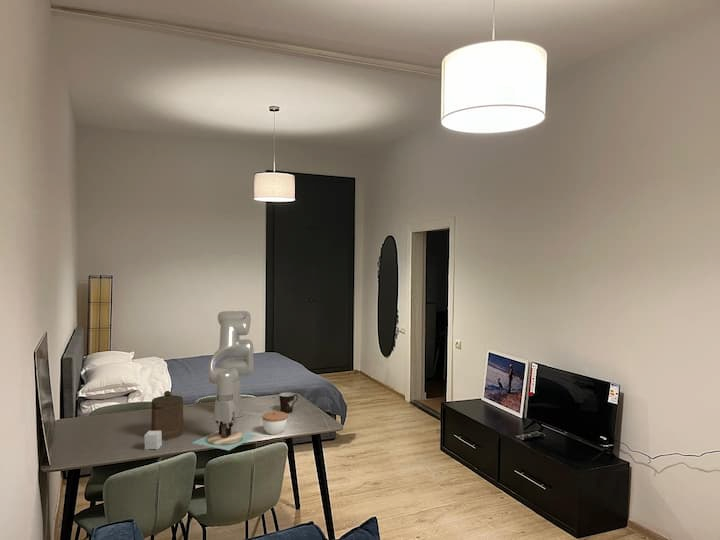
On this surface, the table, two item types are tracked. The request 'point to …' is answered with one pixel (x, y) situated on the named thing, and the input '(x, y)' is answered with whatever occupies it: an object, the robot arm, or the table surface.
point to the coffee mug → (287, 402)
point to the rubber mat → (226, 447)
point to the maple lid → (224, 437)
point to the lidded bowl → (274, 422)
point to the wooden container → (168, 415)
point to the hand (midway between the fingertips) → (225, 434)
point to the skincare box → (153, 439)
